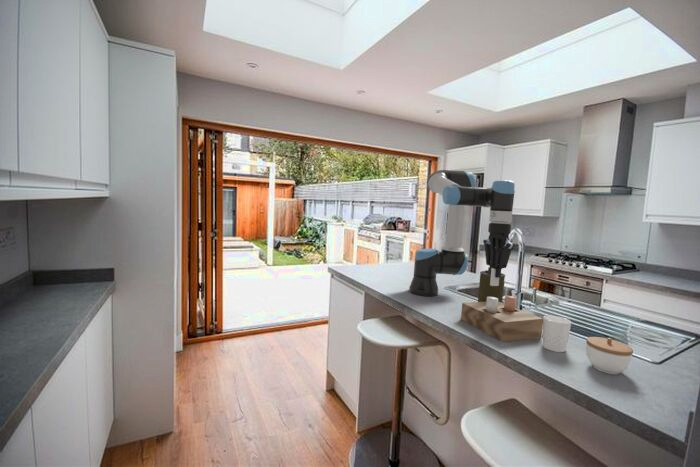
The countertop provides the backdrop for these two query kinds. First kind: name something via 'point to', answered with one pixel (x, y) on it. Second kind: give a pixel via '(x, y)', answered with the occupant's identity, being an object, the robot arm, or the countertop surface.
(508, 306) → the terracotta plug
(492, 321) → the walnut block
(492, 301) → the white glossy ovoid
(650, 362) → the countertop surface
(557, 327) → the white cup
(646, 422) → the countertop surface
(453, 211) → the robot arm
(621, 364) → the lidded jar
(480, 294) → the canister
